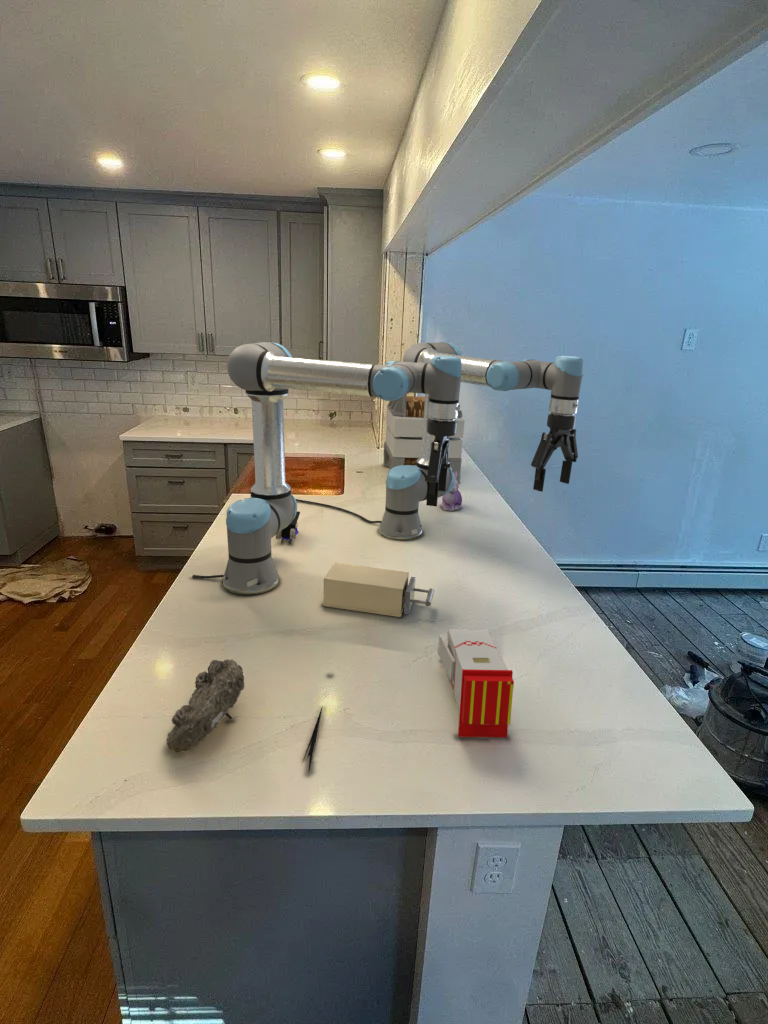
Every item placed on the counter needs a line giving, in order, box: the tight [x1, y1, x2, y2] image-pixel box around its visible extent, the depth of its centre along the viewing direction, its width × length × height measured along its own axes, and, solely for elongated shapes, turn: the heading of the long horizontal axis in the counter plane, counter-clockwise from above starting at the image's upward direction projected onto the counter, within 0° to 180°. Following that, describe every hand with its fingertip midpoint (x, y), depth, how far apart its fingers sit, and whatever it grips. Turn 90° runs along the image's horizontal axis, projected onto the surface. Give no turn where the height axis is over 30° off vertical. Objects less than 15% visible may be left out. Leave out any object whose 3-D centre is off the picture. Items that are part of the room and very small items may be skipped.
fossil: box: [166, 658, 245, 754], centre depth 106 cm, size 22×10×15 cm
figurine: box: [441, 471, 463, 512], centre depth 226 cm, size 9×10×15 cm
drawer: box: [402, 576, 435, 615], centre depth 150 cm, size 25×9×6 cm, turn 78°
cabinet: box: [323, 562, 410, 618], centre depth 151 cm, size 21×10×8 cm, turn 78°
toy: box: [437, 628, 515, 738], centre depth 117 cm, size 12×13×30 cm
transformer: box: [383, 394, 465, 484], centre depth 268 cm, size 34×33×41 cm
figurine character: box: [275, 510, 301, 544], centre depth 191 cm, size 7×8×15 cm
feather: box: [301, 673, 332, 771], centre depth 108 cm, size 2×28×2 cm
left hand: (436, 497), depth 152 cm, fingers open, 13 cm apart
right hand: (551, 486), depth 165 cm, fingers open, 13 cm apart
